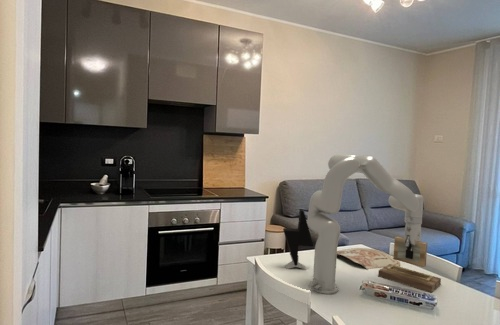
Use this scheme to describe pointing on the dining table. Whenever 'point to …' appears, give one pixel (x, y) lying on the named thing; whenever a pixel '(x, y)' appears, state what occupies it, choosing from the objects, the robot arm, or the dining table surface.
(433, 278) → the display stand
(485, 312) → the dining table surface
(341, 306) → the dining table surface
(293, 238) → the award
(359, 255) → the poster
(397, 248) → the wooden plaque
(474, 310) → the dining table surface
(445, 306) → the dining table surface
